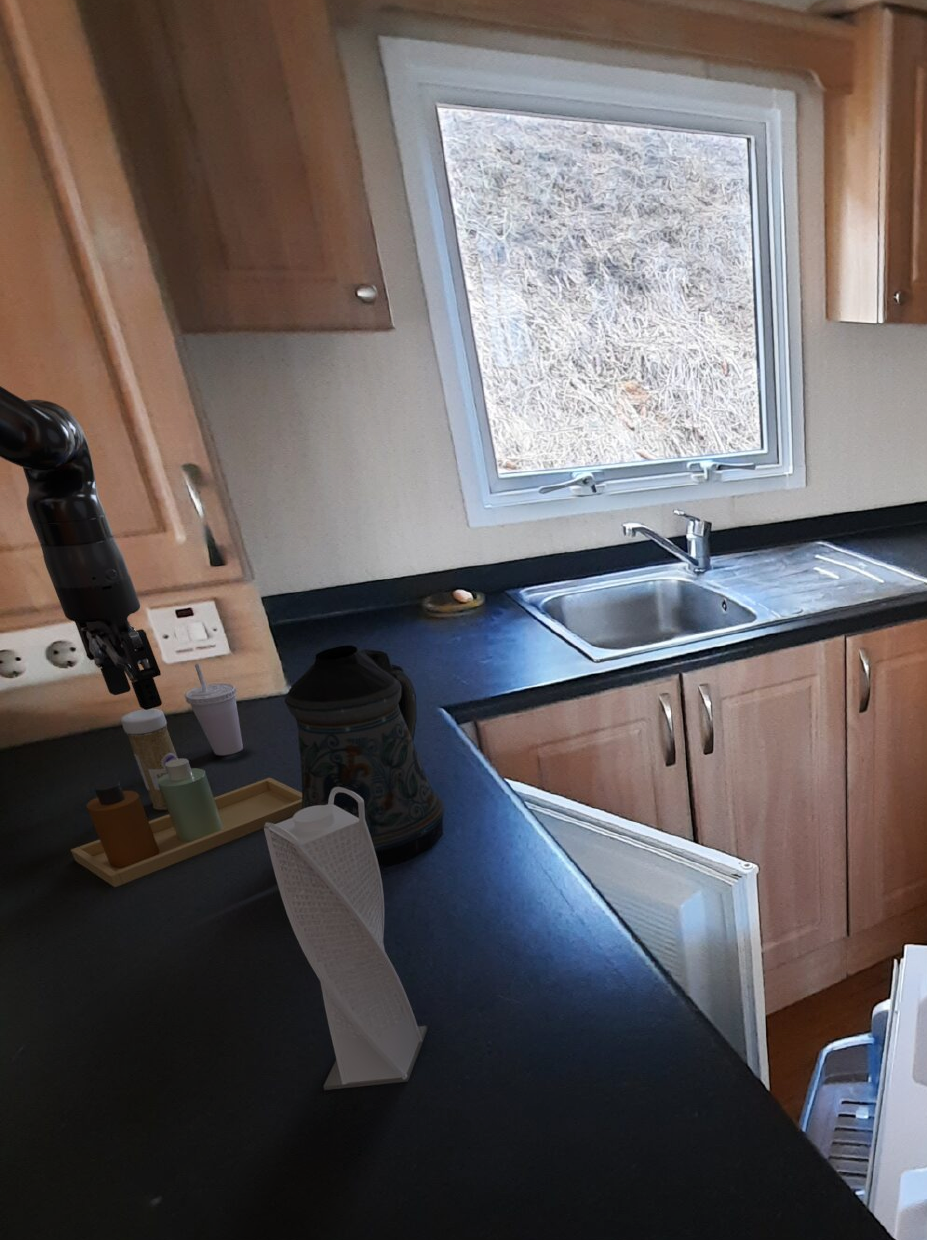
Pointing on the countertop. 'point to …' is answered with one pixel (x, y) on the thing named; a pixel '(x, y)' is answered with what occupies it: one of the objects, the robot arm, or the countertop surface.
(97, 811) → the amber bottle
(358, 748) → the beer stein
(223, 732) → the smoothie
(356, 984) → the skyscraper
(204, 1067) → the countertop surface
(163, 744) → the sprinkles bottle
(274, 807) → the tray
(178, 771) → the sage bottle
